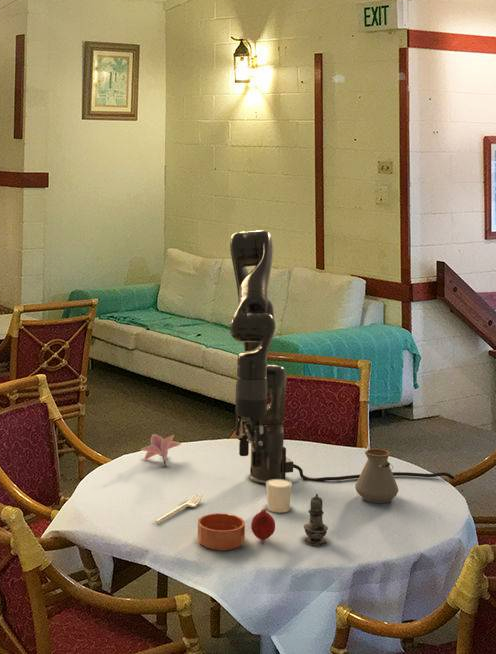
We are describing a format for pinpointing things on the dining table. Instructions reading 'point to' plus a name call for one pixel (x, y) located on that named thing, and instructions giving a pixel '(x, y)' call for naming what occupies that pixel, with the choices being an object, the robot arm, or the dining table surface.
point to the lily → (159, 446)
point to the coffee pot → (377, 478)
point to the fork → (190, 503)
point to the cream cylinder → (278, 495)
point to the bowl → (221, 531)
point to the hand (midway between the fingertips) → (250, 460)
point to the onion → (263, 525)
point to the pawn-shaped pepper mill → (315, 524)
